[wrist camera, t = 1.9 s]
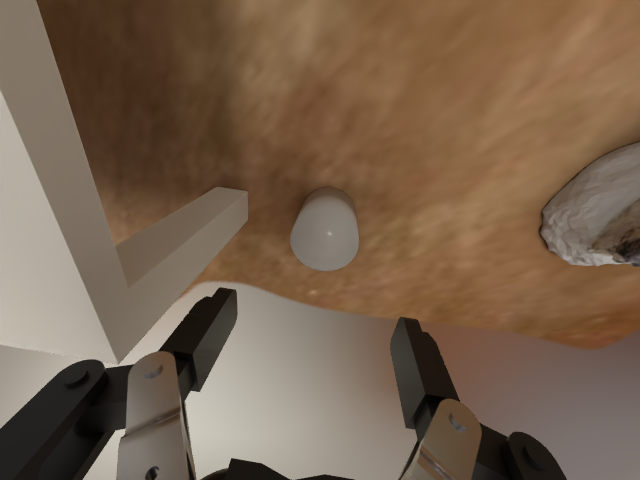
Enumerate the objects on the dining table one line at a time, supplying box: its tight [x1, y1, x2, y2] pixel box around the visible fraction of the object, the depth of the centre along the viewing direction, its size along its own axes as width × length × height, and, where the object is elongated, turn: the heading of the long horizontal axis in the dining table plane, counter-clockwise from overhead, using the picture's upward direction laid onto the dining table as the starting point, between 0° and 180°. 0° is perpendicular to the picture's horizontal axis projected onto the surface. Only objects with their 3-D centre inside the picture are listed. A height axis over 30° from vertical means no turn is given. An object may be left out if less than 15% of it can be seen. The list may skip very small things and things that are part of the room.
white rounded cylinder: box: [290, 187, 359, 271], centre depth 21 cm, size 5×5×6 cm
